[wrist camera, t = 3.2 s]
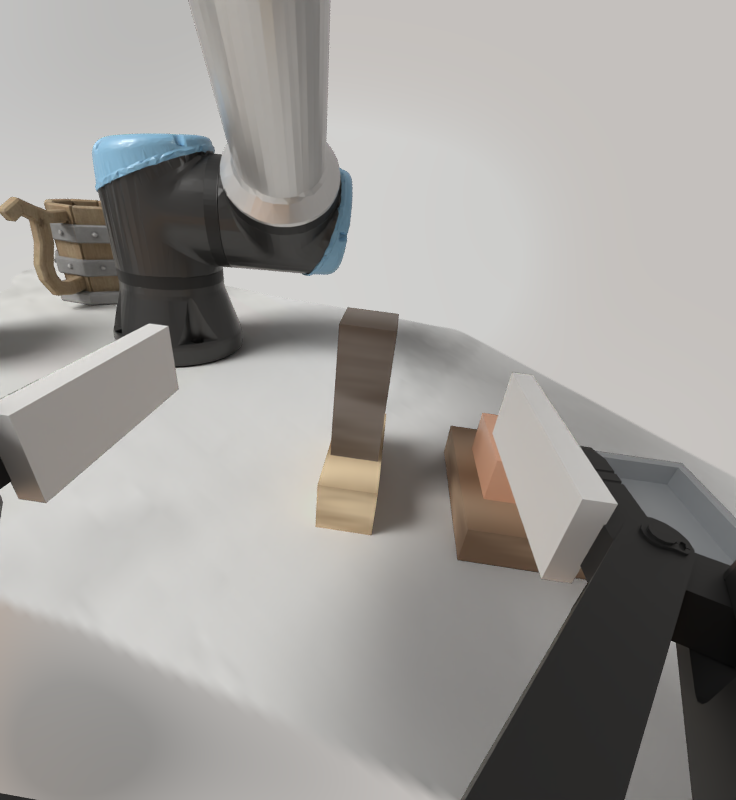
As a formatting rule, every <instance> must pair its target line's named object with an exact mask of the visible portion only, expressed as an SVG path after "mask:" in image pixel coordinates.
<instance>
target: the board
mask: <svg viewBox="0 0 736 800" xmlns="http://www.w3.org/2000/svg"><path fill="white" fill-rule="evenodd" d="M476 432H477V429H470V428H463V427H456V426H451V427H450V431H449V435H448V439H447V442H446V446H445V450H444V455H445V463H446V471H447V479H448V487H449V495H450V503H451V511H452V519H453V527H454V535H455V543H456V551H457V559H458V560H462V561H469V562H475V563H482V564H488V565H495V566H502V567H508V568H515V569H521V570H528V571H534V572H539V571H538V568H537V565H536V562H535V559H534V556H533V553H532V550H531V547H530V544H529V541H528V538H527V535H526V532H525V529H524V526H523V523H522V520H521V517H520V514H519V511H518V508H517V505H516V504H514V503H507V502H500V501H493V500H487V499H484V498H483V494H482V490H481V485H480V481H479V477H478V472H477V468H476V464H475V459H474V455H473V451H472V446H473V442H474V439H475V436H476ZM575 578H580V579H586V578H585V576H584V573H583V571H582V569H581V568H580V570H579V572H578V574H577V575H576V577H575Z"/></svg>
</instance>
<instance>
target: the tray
mask: <svg viewBox="0 0 736 800" xmlns="http://www.w3.org/2000/svg"><path fill="white" fill-rule="evenodd" d="M596 452H597V453H598V454H600V455H601V456H602V457H603V458H605V459H606V460H607V462H608V463H609V465H610V466H611V467H612V469H613V470H614V474H617V476H618V477H619V478H620V480H621V481H622V484H624V485H625V487H626V488H627V489H628V491H629V492H630V494H631V495H632V496H633V498H634V499H635V500H636V502H637V503H638V505H639V506H640V507H641V509H642V510H643V511H644V513H645V514H646V516H647V517H651V518H654V519H657V520H659V521H661V522H664V523H666V524H667V525H669V526H671V527H672V528H674V529H675V530H677V531H678V532H679V533H681V534H682V535H683V536H684V537H685V538H686V539H687V540H688V541H689V542H690V544H691V545H692V547H693V548H694V551H695V553H697V554H700V555H703V556H706V557H708V558H711V559H714V560H717V561H720V562H722V563H725V564H728V565H732V564H733V563H734V561H735V560H736V518H735V517H734V516H733V515H732V514H731V513H730V512H729V511H728V510H727V509H726V508H725V507H724V506H723V505H722V504H721V503H720V502H719V501H718V500H717V499H716V498H715V497H714V496H713V495H712V494H711V492H710V491H709V490H708V489H707V488H706V487H705V486H704V485H703V484H702V483H701V482H700V481H699V480H698V479H697V478H696V477H695V476H694V475H693V474H692V473H691V472H690V471H689V470H688V469H687V468H686V467H685V466H684V465H683V464H682V463H677V462H670V461H663V460H656V459H649V458H642V457H635V456H628V455H621V454H614V453H607V452H600V451H596Z"/></svg>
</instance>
